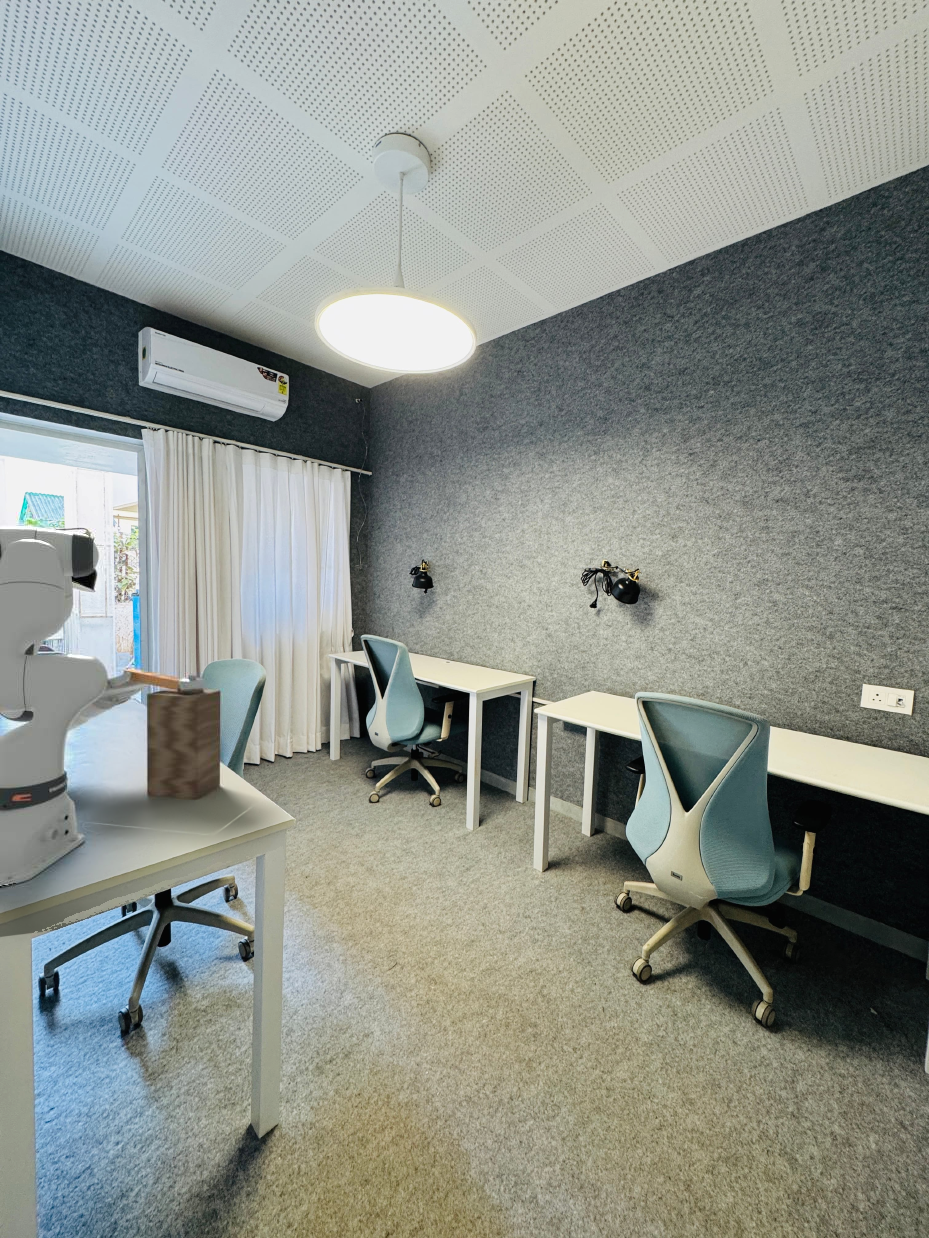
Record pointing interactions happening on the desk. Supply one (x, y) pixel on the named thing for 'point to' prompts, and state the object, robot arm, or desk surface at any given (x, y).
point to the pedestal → (183, 743)
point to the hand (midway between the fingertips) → (137, 673)
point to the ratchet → (169, 681)
